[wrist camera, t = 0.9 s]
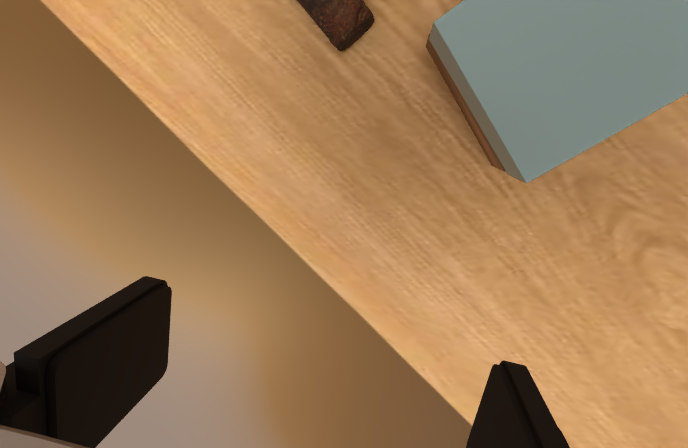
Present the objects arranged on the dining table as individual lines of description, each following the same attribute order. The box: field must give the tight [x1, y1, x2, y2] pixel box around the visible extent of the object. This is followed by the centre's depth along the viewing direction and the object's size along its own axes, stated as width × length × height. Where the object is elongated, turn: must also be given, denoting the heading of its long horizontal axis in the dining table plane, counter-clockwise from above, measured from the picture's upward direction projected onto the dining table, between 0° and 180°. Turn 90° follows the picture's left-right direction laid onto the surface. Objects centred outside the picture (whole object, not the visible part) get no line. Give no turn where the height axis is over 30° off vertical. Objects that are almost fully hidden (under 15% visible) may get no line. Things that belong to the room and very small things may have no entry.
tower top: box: [429, 0, 688, 183], centre depth 25 cm, size 12×12×5 cm
